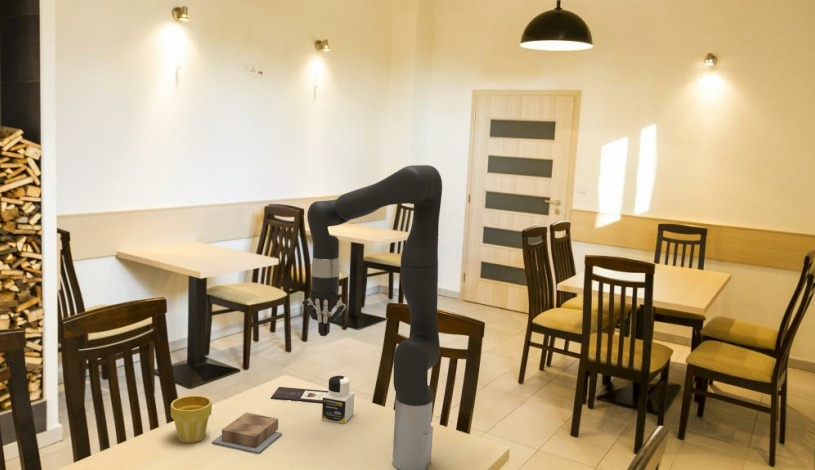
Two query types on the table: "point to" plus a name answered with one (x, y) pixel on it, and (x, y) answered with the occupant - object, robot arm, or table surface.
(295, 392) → the chocolate bar
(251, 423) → the walnut tile
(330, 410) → the medicine bottle
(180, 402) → the plant pot
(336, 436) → the table surface
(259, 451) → the felt mat
